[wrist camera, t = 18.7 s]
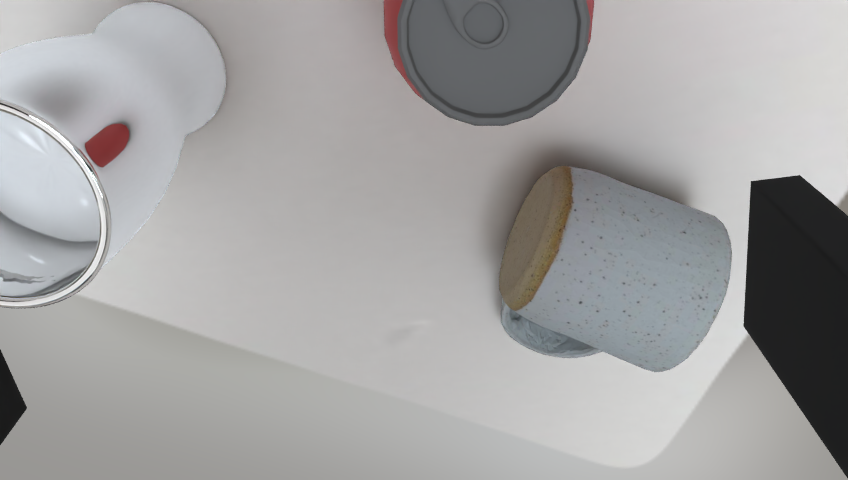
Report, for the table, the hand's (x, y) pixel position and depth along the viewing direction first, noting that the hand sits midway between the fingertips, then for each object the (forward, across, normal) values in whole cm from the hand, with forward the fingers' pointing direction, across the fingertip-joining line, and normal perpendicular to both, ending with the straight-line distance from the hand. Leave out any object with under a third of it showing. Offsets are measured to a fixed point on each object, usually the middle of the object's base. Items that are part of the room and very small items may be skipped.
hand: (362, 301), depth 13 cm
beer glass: (+24, -11, 0) cm, 26 cm away
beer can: (+23, +3, +2) cm, 24 cm away
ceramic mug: (+24, +8, -12) cm, 27 cm away
